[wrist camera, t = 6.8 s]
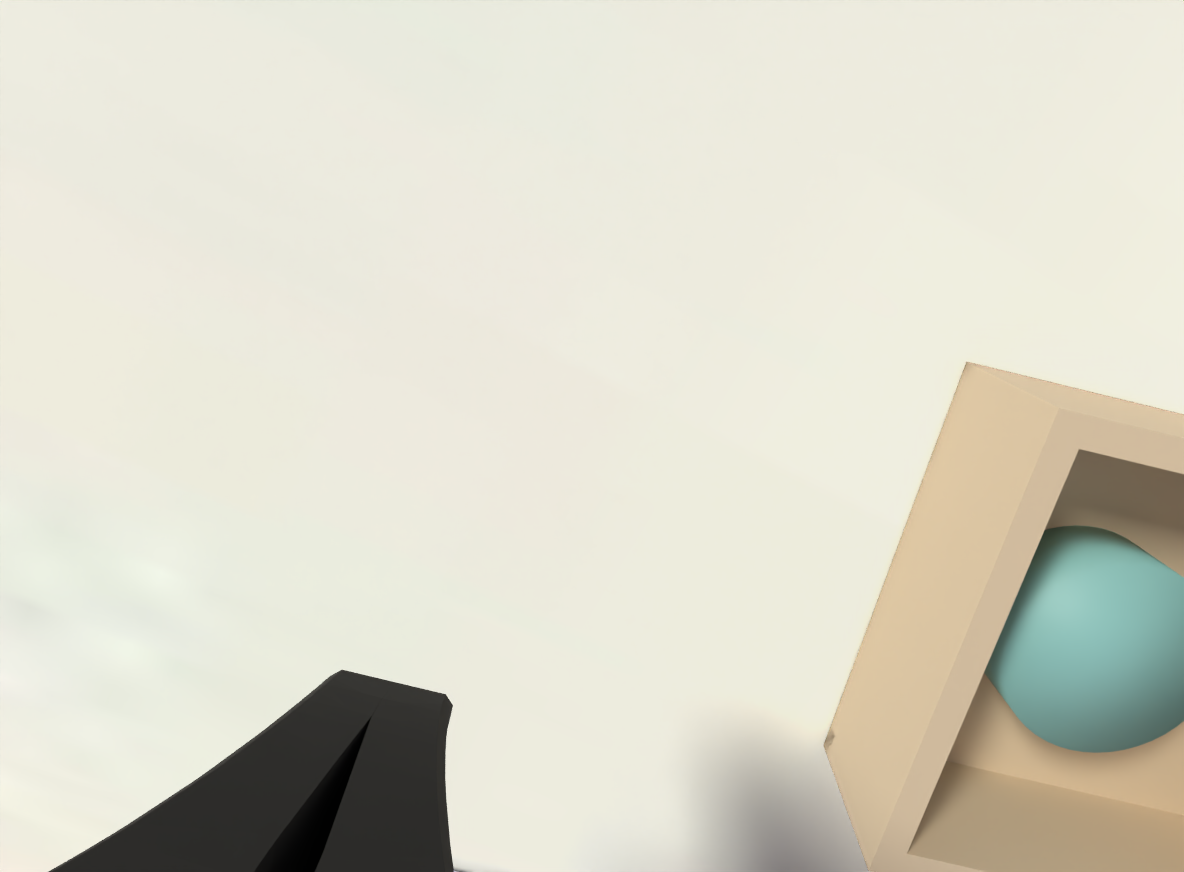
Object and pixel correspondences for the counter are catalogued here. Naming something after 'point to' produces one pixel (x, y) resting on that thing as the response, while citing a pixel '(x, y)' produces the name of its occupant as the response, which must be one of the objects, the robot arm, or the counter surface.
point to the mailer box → (1027, 645)
